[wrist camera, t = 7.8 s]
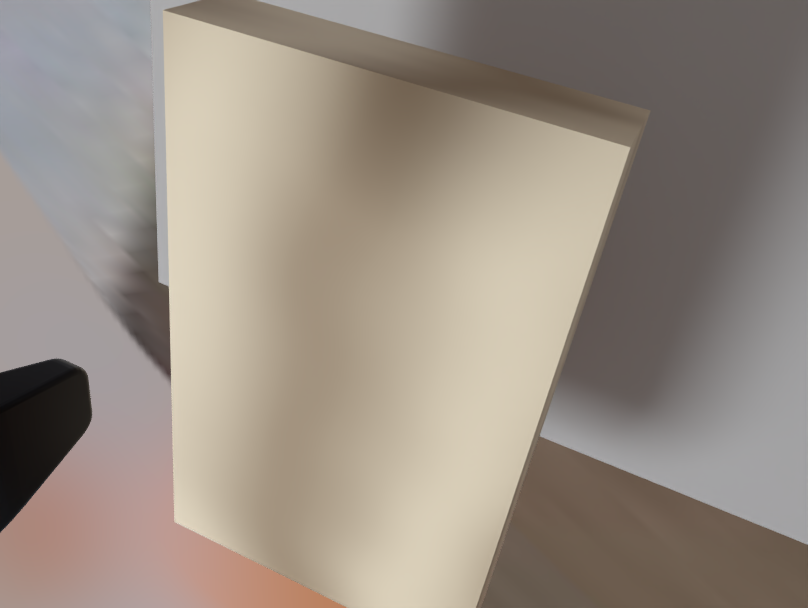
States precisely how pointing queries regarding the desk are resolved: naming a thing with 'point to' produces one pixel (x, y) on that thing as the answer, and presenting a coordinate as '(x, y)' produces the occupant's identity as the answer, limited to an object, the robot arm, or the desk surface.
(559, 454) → the desk surface
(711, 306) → the desk mat
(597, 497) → the desk surface
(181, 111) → the lid board
